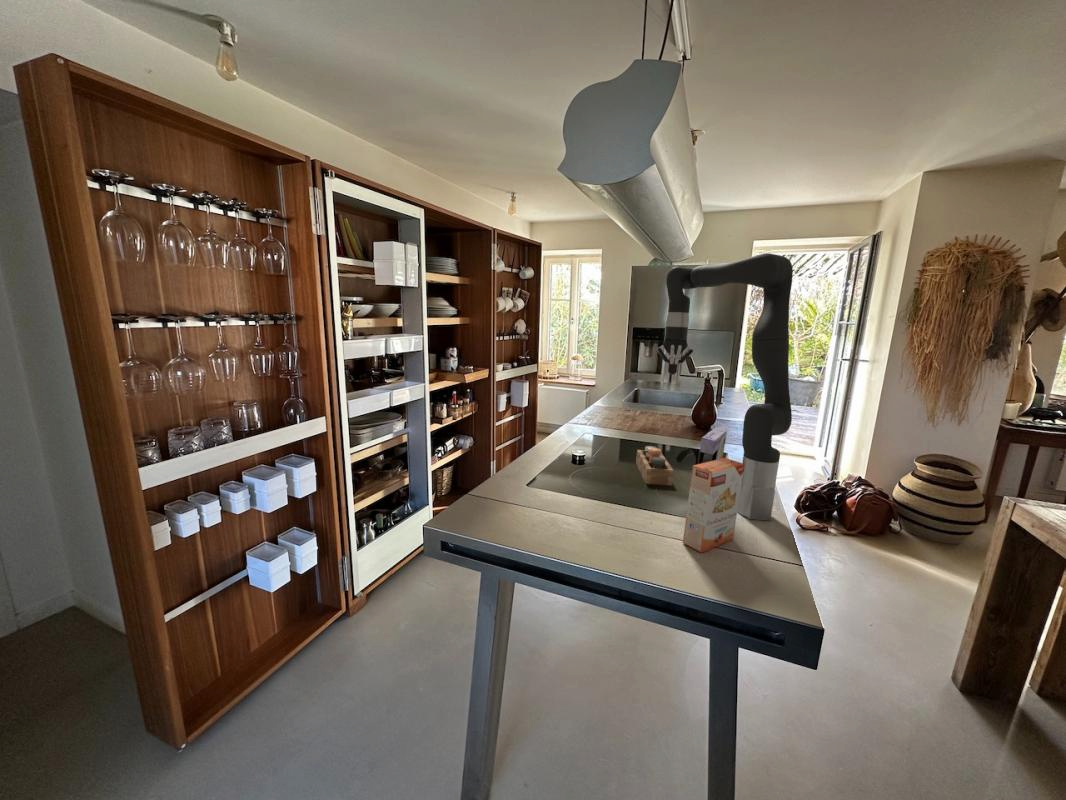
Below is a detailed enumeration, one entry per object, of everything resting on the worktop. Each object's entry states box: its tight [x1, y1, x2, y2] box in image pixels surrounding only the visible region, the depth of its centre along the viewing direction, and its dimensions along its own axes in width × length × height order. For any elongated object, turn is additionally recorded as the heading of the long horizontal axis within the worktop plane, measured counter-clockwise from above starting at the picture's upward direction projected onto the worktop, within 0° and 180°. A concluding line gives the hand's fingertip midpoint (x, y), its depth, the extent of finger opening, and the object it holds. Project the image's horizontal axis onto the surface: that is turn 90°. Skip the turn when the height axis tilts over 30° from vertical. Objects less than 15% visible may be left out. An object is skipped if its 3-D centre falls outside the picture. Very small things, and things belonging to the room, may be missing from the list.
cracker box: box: [682, 457, 745, 554], centre depth 105 cm, size 14×6×21 cm, turn 124°
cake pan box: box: [697, 427, 728, 464], centre depth 149 cm, size 19×5×18 cm, turn 143°
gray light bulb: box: [652, 457, 666, 469], centre depth 148 cm, size 5×5×7 cm
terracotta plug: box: [648, 447, 663, 462], centre depth 154 cm, size 5×5×7 cm
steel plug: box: [644, 445, 657, 456], centre depth 161 cm, size 5×5×7 cm
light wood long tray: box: [635, 449, 675, 487], centre depth 155 cm, size 22×9×6 cm, turn 175°
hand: (672, 374), depth 151 cm, fingers closed
